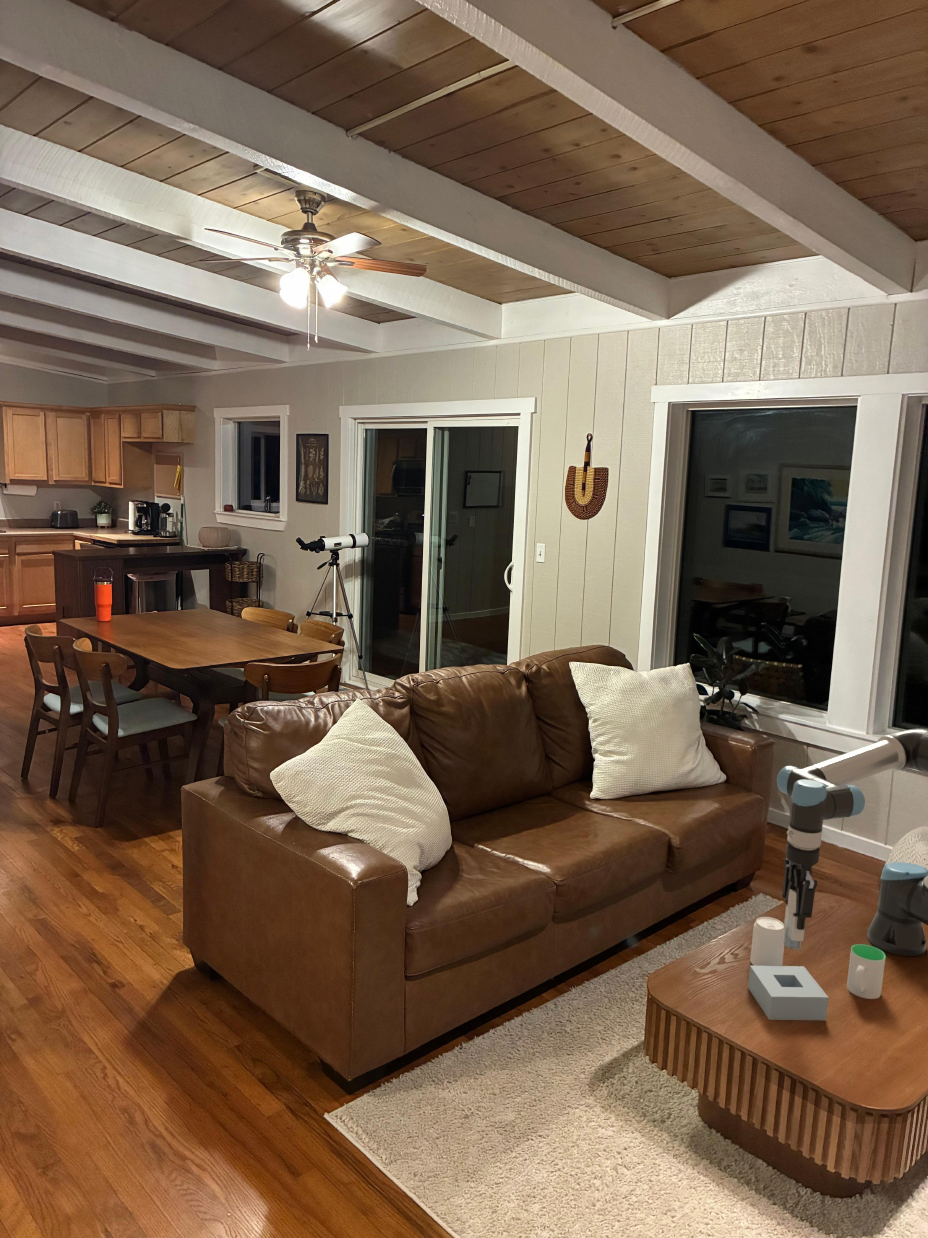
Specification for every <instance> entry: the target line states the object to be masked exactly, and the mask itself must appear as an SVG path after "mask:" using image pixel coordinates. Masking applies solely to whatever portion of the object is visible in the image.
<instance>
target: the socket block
mask: <svg viewBox="0 0 928 1238" xmlns="http://www.w3.org/2000/svg"><path fill="white" fill-rule="evenodd" d="M748 972H749V973H748V980H747V981H748V982H747V989H748V990H749V991H750V993H751V994H752V996H753V997H754V999H755V1000H756V1002H757V1004H758V1005H759V1006H760V1008H761V1010H762V1011H763V1013H764V1014H765V1016H766V1017H767V1019H768V1020H770V1021H775V1020H776V1021H778V1020H779V1021H827V1013H828V1003H829V996H828V994H827V993H825V991H824V989H823V988H822V987H821V986H820V984H819V983H818V982H817V981H816V980H815V978H814V977H813V976H812V975H811V974H810V972H809V971H808V969H807V968H806V967H805V966H804V965H801V966H798V965H797V966H796V965H782V966H754V965H749V971H748Z"/></svg>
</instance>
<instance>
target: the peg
mask: <svg viewBox="0 0 928 1238" xmlns="http://www.w3.org/2000/svg"><path fill="white" fill-rule="evenodd" d="M796 891H797V888H790V889H789V897H788V906H787V915H786V924H785V933H784V942H783V944H784V947H786V948H788V949H792V950H799V949H801V947H802V941H792V940H791V936H792V927H793V918H794V916H793V913H796Z"/></svg>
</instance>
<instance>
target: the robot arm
mask: <svg viewBox="0 0 928 1238" xmlns="http://www.w3.org/2000/svg"><path fill="white" fill-rule="evenodd" d="M902 769H909V770H915V771H918V772H921V773H923V774H925V775H926V774H927V775H928V728H918V727H917V728H911V729H904V730H900V731H899V730H898V731H896V732H892V733H889V734H885V735H883V736H880V737H879V738H878V739H877V741H876V742H875V743H872V744H869V745H866V746H863V747H861V748H857V749H855V750H851V751H849V752H846V753H843V754H840V755H837V756H834V757H832V758H829V759H826V760H823V761H821V762H818V763H814V764H813V765H809V766H805V767H804V768H800V767H797V766H793V765H786V766H784V767H782V768H781V770H779V772H778V774H777V777H776V785H777V788H778V790H779V792H781V793H783V794H785V795H786V796H788V797H789V798H790V809H789V810H790V811H789V820H788V830H787V831H786V835H787V843H786V847H785V858H784V864H783V865H784V872H783V873H784V874H783V881H782V882H783V885H782V896H781V897H782V899H784V902H785V904H786V905H785V912H784V920H783V921H784V922H783V924H784V929H783V930H784V931H785V924H786V915H787V906H788V897H789V889H790V888H797V891H796V913H793V916H794V918H793V927H792V936H791V940H792V941H801V942H804V940H805V939H804V937H805V931H806V930H805V929H806V919H811V918H812V915H813V909H814V908H813V907H814V903H815V902H814V901H815V894H816V888H817V886H818V881H817V879H813V878H812V877H813V876H812V875H813V866H815V865H817V864H818V863H819V858H820V852H821V851H820V850H821V849H820V847H821V844H822V834H823V826H824V825H823V824H824V821H827V820H828V821H829V820H832V819H833V820H834V819H841V818H850V817H854V816H857V815H858V816H859V814H861V813H862V812H863V811H864V810H865V804H866V798H865V795H864V793H863V792H862V790H861V789H860V788H859V787H858V786H856V785H853V784H854V783H855V782H859V781H860V780H864V779H867V778H869V777H872V776H874V775H877V774H880V773H883V772H885V771H889V770H891V771H894V772H895V771H900V770H902ZM877 902H878V903H877V911H876V913H875V915H874V917H873V919H872V921H871V923H870V924H869V926H868V929H867V935H866V936H867V940H868V941H869V942H870V943H871V945H873V946H874V947H875V948H878V949H880V950H881V951H883V952H884V951H885V952H887V953H890V954H894V955H898V956H904V957H917V956H921V955H924V954H925V953H926V951H927V939H926V933H925V930H924V925H926V926H928V869H927V868H926V867H925V866H923V865H919V864H917V863H916V864H915V863H910V862H901V861H899V862H897V861H896V862H888V863H887V864H885V865H884V866H883V868H882V872H881V876H880V883H879V892H878V901H877ZM923 924H924V925H923Z"/></svg>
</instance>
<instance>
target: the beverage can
mask: <svg viewBox="0 0 928 1238" xmlns="http://www.w3.org/2000/svg"><path fill="white" fill-rule="evenodd" d="M783 929H784V922H782V921H781V920H779V919H777V918H775V917H770V916H760V917H758V918H756V920H755V922H754V923H753V929H752V939H751V950H750V957H749V959H750V962H751V964H752V966H783V961H784V950H785V945H784V944H783V942H784V933H785V931H784V930H783Z"/></svg>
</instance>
